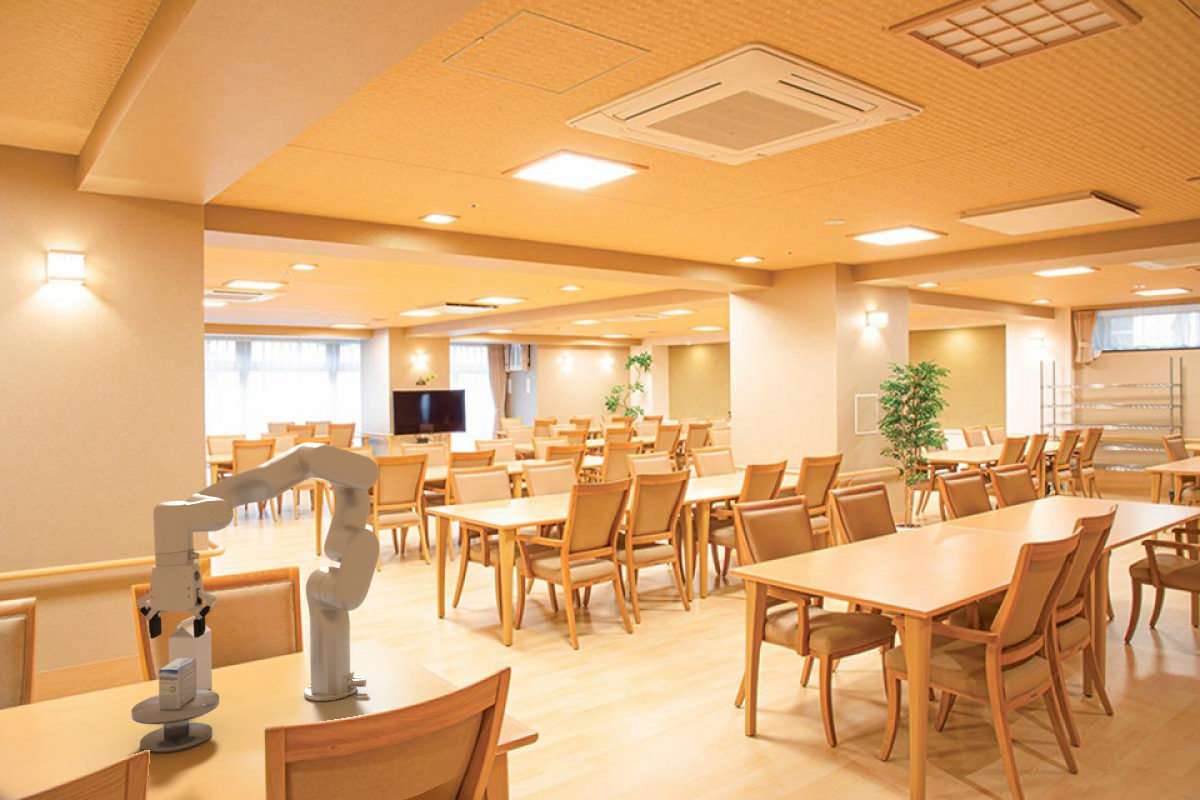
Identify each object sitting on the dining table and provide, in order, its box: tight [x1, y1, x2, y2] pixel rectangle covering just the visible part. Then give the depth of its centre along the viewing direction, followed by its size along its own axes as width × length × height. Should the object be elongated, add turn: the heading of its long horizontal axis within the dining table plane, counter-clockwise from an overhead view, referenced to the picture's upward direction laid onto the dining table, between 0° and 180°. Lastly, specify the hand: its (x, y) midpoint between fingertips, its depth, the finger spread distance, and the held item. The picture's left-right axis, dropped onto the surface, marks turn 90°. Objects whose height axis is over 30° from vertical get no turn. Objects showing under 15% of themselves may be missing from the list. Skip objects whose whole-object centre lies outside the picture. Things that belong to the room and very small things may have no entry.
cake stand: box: [131, 689, 220, 755], centre depth 178 cm, size 17×17×8 cm
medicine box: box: [158, 658, 196, 710], centre depth 178 cm, size 8×4×9 cm, turn 1°
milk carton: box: [168, 615, 213, 690], centre depth 207 cm, size 7×7×19 cm
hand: (177, 636), depth 178 cm, fingers open, 9 cm apart
